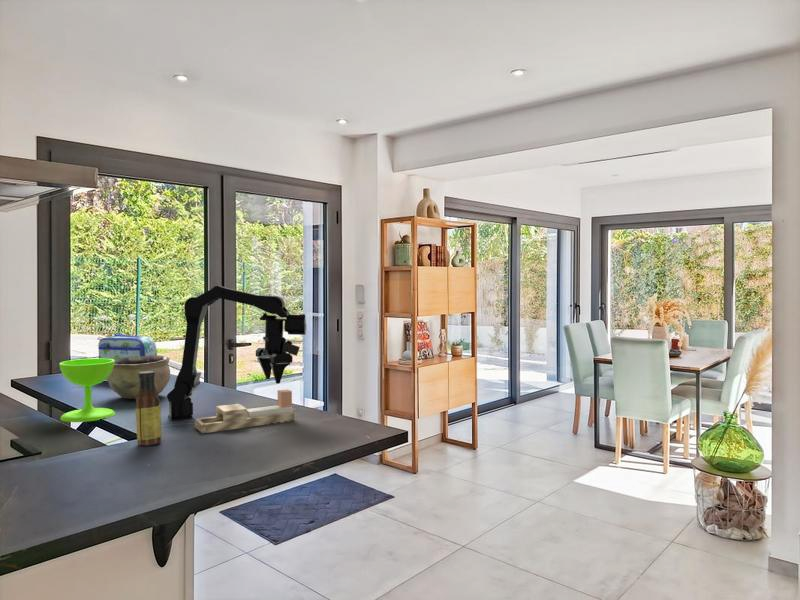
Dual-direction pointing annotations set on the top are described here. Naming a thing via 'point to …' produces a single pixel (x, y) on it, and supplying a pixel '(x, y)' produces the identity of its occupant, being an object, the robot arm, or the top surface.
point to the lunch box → (126, 347)
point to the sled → (282, 406)
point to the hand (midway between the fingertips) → (272, 381)
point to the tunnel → (236, 419)
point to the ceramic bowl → (127, 374)
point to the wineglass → (87, 386)
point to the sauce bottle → (148, 411)
